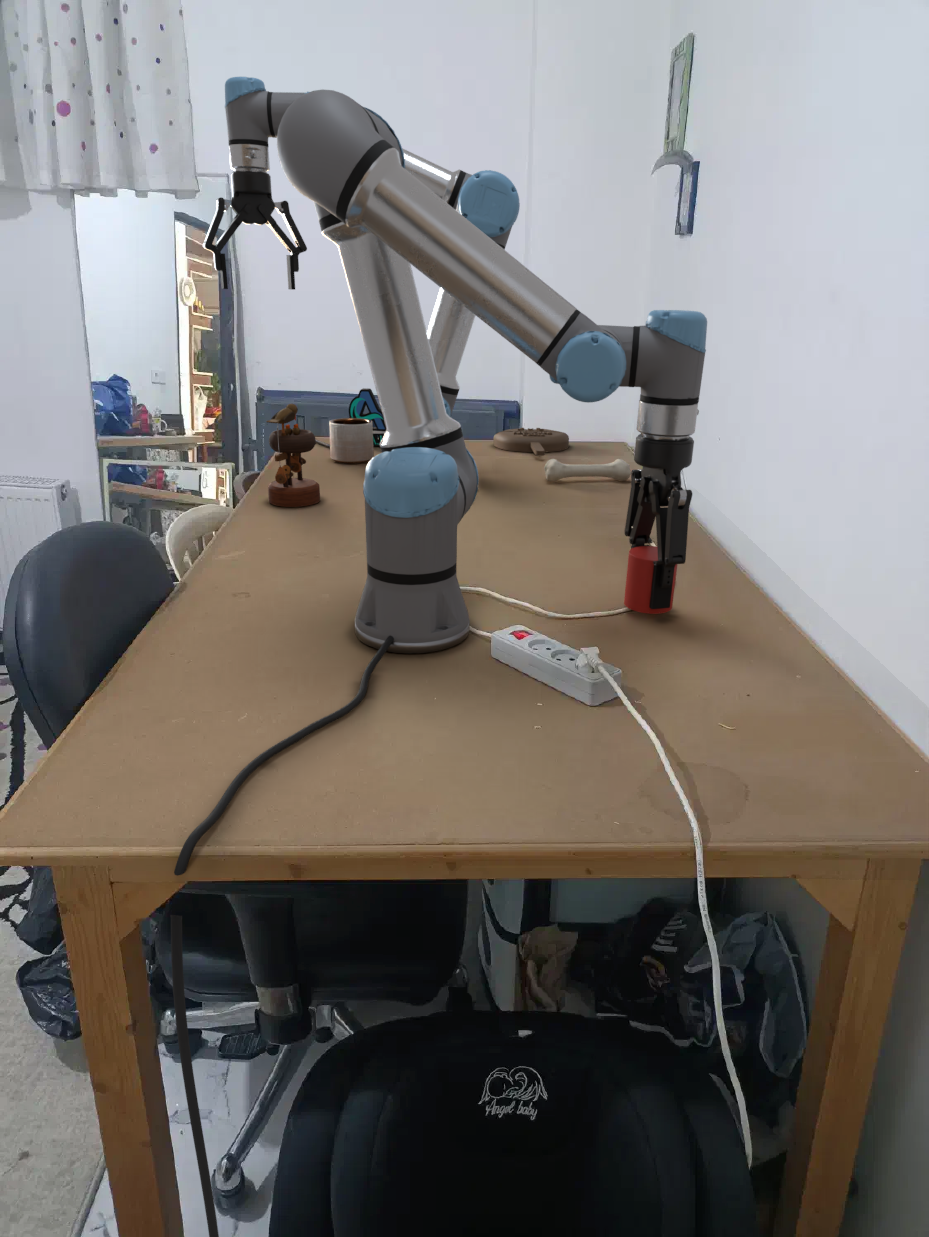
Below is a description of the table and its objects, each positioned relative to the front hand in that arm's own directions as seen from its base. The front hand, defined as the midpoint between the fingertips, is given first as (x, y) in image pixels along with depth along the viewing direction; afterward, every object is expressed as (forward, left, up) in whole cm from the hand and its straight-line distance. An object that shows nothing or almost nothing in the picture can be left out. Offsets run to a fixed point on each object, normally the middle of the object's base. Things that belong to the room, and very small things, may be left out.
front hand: (647, 597), depth 120 cm
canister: (0, 0, -1) cm, 1 cm away
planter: (+95, +64, -2) cm, 115 cm away
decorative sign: (+115, +65, -2) cm, 132 cm away
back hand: (+65, +76, +38) cm, 107 cm away
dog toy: (+82, +6, -2) cm, 82 cm away
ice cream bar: (+116, +19, -2) cm, 117 cm away
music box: (+54, +67, -2) cm, 86 cm away
